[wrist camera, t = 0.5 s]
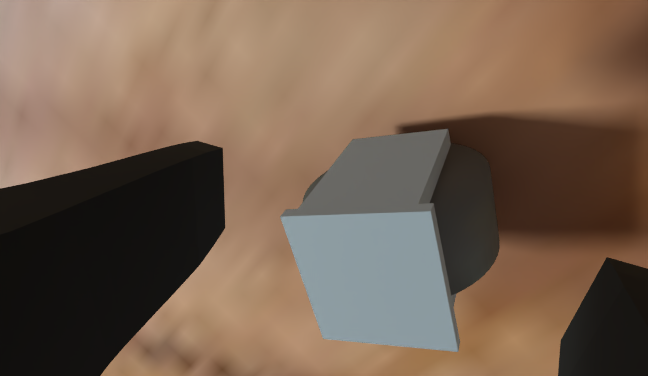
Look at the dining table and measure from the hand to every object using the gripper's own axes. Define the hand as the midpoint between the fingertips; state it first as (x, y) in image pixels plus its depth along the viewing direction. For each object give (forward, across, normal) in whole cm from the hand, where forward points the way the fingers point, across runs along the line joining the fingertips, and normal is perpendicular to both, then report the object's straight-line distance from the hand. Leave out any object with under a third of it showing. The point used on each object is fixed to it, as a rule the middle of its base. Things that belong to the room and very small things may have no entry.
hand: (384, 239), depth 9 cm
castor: (+10, +1, +4) cm, 11 cm away
